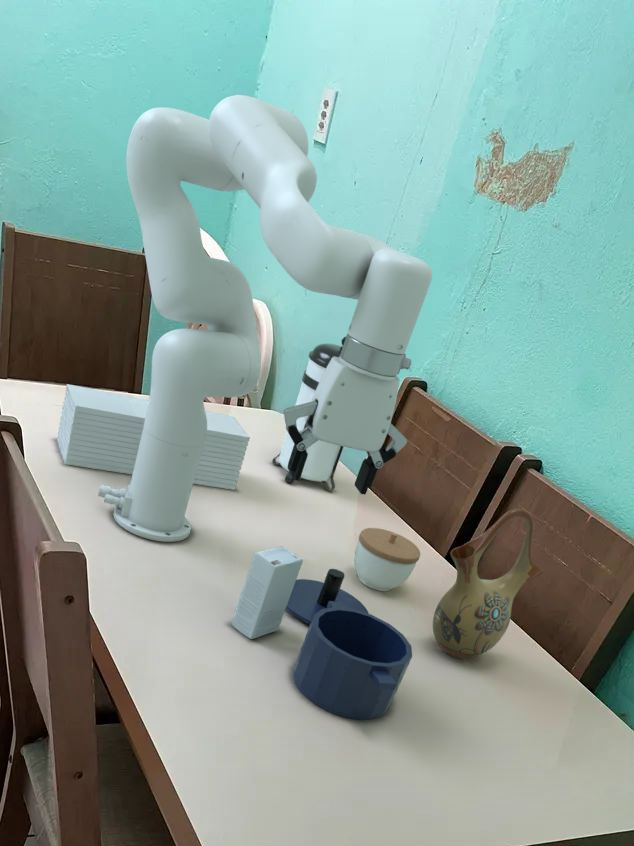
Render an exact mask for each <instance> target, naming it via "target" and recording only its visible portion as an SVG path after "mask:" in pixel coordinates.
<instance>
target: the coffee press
mask: <svg viewBox="0 0 634 846" xmlns="http://www.w3.org/2000/svg"><path fill="white" fill-rule="evenodd" d="M345 339H346V336H344V337H343V338H342V339H341V345H339V344H335V343H327V342H325V343H320V344H318V345H316V346H315V347H314V348H313V349H312V350H311V351H309V353H308V362H307V366H306V369H305V370H304V372H303V374H302V378H301V380H302V382H301V386H300V389H299V392H298V395H297V397H296V401H295V404H294V406H296V405H300V404H304V403H308V402H311V401H312V398H313V396H314V393H315V391H316V388H317V386H318V384H319V382H320V380H321V378H322V376H323V373H324V372H325V370H326V368H327V366H328V364H329V362H330V361H331V359H332V357H340V354H341V351H342V348H343V345H344V342H345ZM305 418H306V416H305V417H301V418H298V419H297V421H296V425H297V429H298V431H299V432H300V431H301V430H303V429H304V428H306V427H307V426H306V425H305ZM293 447H294V442H293V441H292V439H291V437H290V435H289V433H288V431H287V430H286V433H285V437H284V440H283V443H282V446H281V449H280V452H279V454H278V455H277V456H275V457H273V458H272V464H273V465H274V466H279V465H280V466H281V467H282V468H283V469H284V470H286V471H287V472H288V473H287V474H286V476H285V477H284V482H286V483H288V484H289V485H292V484H293V483H294V482H295V480H293V478H292V476H291V474H290V473H289V470H288V462H289V459H290V456H291V453H292V450H293ZM344 448H345V447H344V446H339V445H335V444H331V443H327V442H323V441H320V440H318V441H317V442H315V443H314V444H312V445H311V446H310V447H308V448H307V449H306V451H307V453H308V456H307V459H306V462H305V465H304V468H303V471H302V474H301V477H300V479H304V480H308V481H312V482H321V483H322V484H323V485H324V487H325V489H326V491H328V492H331V491H334V490H335V489H336V484H335V480H334V479H335V478H334V476H335V473H336V470H337V466H338V464H339V460H340V458H341V455H342V452H343V449H344ZM277 459H278V461H279V463H278V462H277ZM328 480H330V484H331V488H330V486H329V483H328V482H327V481H328Z"/></svg>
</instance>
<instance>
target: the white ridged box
mask: <svg viewBox="0 0 634 846" xmlns="http://www.w3.org/2000/svg"><path fill="white" fill-rule="evenodd" d="M65 389H66V390H65V393H64V398H63V405H62V410H61V414H60V422H59V427H58V431H57V437H56V442H57V445H58V448H59V451H60V454H61V457H62V460H63V463H64V465H67V466H75V467H81V468H88V469H92V470H93V469H95V470H101V471H108V472H114V473H121V474H127V475H131V476H132V475H133V470H134V466H135V462H136V457H137V453H138V449H139V444H140V440H141V436H142V431H143V427H144V422H145V417H146V413H147V408H148V403H149V399H147V398H141V397H136V396H131V395H125V394H121V393H116V392H112V391H111V392H110V391H105V390H101V389H100V390H99V389H96V388H90V387H86V386H85V387H84V386H79V385H74V384H69V383H66V387H65ZM205 413H206V417H207V432H206V437H205V441H204V445H203V449H202V452H201V456H200V460H199V464H198V467H197V471H196V475H195V478H194V482H193V485H199V486H207V487H211V488H212V487H213V488H217V489H218V488H219V489H226V490H232V491H235V490H236V488H237V487H236V486H237V484H238V480H239V476H240V473H241V470H242V466H243V464H244V463H243V462H244V460H245V457H246V452H247V449H248V446H249V442H250V439H251V436H249V434H248V433H247V432H246V430H245V429H244V428H243V426H242V425H241V424H240V423H239V422H238V420H237V419H236V417H235V416H234V415H229V414H225V413H219V412H214V411H208V410H205Z"/></svg>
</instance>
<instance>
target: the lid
mask: <svg viewBox="0 0 634 846" xmlns="http://www.w3.org/2000/svg"><path fill="white" fill-rule="evenodd" d="M345 577H346V576H345V573H344V572H343V571H342V570H339V569H336V568H329V569H328V570H327V573H326V575H325V579H324V581H319V580H314V579H307V578H299V579H296V581H295V584H294V587H293V590H292V592H291V595H290V598H289V601H288V604H287V606H286V609H285V610H286V611H288V612H289V613H290V614H292V616H294V617H295V618H297V619H299V620H300V621H302V622H304V623H306V624H308V625H310V624H311V621H312V618H313V616H314V615H315V614H316V613H317V612H319V611H320V610H321V609H326V608H327V604H328V602H329V601H334V602H342V603H344V604H345V605H346V607H347V608H349V609H355V610H358V611H362V612H365V613H368V614H370V613H369V611H368V609H367V607H366V606H365V605H364V604H363V603H362V602H361V601H360V600H359V599H358V598H357V597H355V596H354V595H352V594H351V593H349V592H347V591H346V590H344V589H342V588H341V587H342V584H343V582H344V578H345Z"/></svg>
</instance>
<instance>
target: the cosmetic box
mask: <svg viewBox="0 0 634 846" xmlns="http://www.w3.org/2000/svg"><path fill="white" fill-rule="evenodd" d="M303 562H304V559H303V558H302V557H300V556H298V555H297V554H296V553H294V552H292V551H291V550H289V549H288V548H286V547H284V546H282V545H281V546H277V547H273V548H269V549H264V550H260V551H255V552H254V555H253V557H252V561H251V564H250V567H249V570H248V572H247V576H246V579H245V581H244V585H243V588H242V591H241V592H240V593H241V594H240V597H239V600H238V603H237V605H236V609H235V611H234V615H233V618H232V621H231V626H232V627H233V628H235V630H237V631H238V632H240V634H242V635H244V636H245V637H247V638H248V639H250V640H254V639H257V638H260V637H262V636H265V635H267V634H271V633H274V632H277V631H278V630H279V628H280V625H281V623H282V620H283V618H284V615H285V612H286V610H287V609H286V606H287V604H288V601H289V598H290V595H291V592H292V590H293V587H294V584H295V581H296V579H297V578H298V576H299V573H300V570H301V567H302V565H303Z"/></svg>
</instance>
